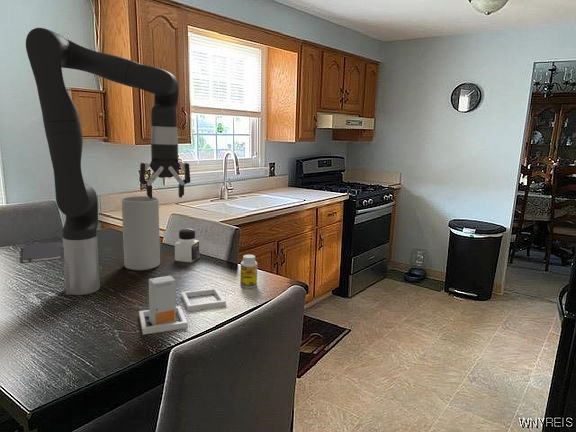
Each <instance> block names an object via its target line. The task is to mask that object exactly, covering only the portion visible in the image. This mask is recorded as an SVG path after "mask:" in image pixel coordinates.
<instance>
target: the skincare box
mask: <svg viewBox="0 0 576 432" xmlns="http://www.w3.org/2000/svg"><path fill="white" fill-rule="evenodd" d="M176 291H177V280H176V279H175V278H174V277H173V276H172V275H167V276H166V275H164V276H159V277H154V278H153V277H152V278H148V310H149V317H148V318H149V322H150V323H151V326H155V325H162V324H169V323H176V322H177V315H176V314H177V313H176V306H177V304H176V303H177V302H176V301H177V297H176V295H177V292H176Z"/></svg>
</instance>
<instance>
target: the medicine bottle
mask: <svg viewBox="0 0 576 432" xmlns="http://www.w3.org/2000/svg"><path fill="white" fill-rule="evenodd" d="M178 239H179V241H177V242H175V243H174V261H176V262H184V263H193V262H194V261H196V260H198V259H199V258H200V240H199V239H196V230H194V229H192V228H181V229H180V230H179V231H178Z"/></svg>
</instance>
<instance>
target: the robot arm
mask: <svg viewBox="0 0 576 432" xmlns="http://www.w3.org/2000/svg"><path fill="white" fill-rule="evenodd" d="M25 49H26V54H27V59H28V61H29V63H30V67H31V70H32V74H33V77H34V81H35V86H36V88H37V89H36V90H37V94H38V100H39V104H40V109H41V113H42V121H43V122H42V123H43V127H44V133H45V136H46V142H47V146H48V151H49V157H50V161H51V164H52V169H53V177H54V189H55V191H54V192H55V201H56V205H57V208H58V209H59V210H60V212H61V213H62V214H63V215H64V216H65V222H64V224H63V225H64V226H63V228H62V242H63V243H62V244H63V245H62V246H63V256H64V257H63V258H64V264H63V267H64V268H63V270H64V272H63V273H64V284H65V295H66V296H69V295H72V296H83V295H84V296H85V295H90V294H93V293H96V292H97V291H99V289H100V284H101V283H100V271H99V268H100V267H99V253H98V232H97V230H98V225H99V206H98V205H99V203H98V196H97V192H96V190H95V188H93V187H92V186H91V185H90V184H88V183H85V181H84V177H83V173H82V155H83V146H84V145H83V142H84V139H83V138H84V137H83V130H82V124H81V118H80V115H79V111H78V110H77V107H76V105H75V103H74V101H73V99H72V98H71V95H70V93H69V91H68V89H67V86H66V84H65V80H64V77H63V75H64V74H63V70H62V69H71V70H77V71H82V72H86V73H90V74H92V75H94V76H98V77H101V78H103V79H105V80H107V81H110V82H113V83H116V84H120V85H123V86H126V87H131V88H135V89H137V88H138V89H140V90H143V91H144V92H147V93H151V94H153V95H154V100H153V101H154V103H153V104H154V105H153V106H152V107H151V111H150V113H151V114H150V115H151V116H150V119H151V123H150V124H151V125H150V126H151V128H150V148H151V149H150V151H151V152H150V153H151V158H150V160H151V161H150V162H149V163H148V162H140V164H139V183H140V185H141V184H142V185H145V186H146V196H148V197H149V198H150V199H152V197H153V186H152V184H153V183H154V182H155V181H156V179H157V178H161V179H163V178H169V179H172V178H174V179H175V180H176V181H177V183H178V185H177V186H178V189H177V190H178V192H177V193H178V198H183V196H184V195H185V185H187V184H190V183H191V172H190V171H191V170H190V169H191V168H190V164H189V163H188V162H184V163H183V162H182V163H180V162H179V135H178V117H177V107H178V100H179V82H178V80H177V77H176V76H175V75H174V74H172V73H171V72H170V71H168V70H165V69H162V68H159V67H155V66H150V65H147V64H142V63H139V62H137V61H134V60H131V59H128V58H125V57H122V56H118V55H115V54H110V53H106V52H101V51H95V50H93V49H90V48H87V47H84V46H82V45H79V44H77V43H75V41H74V42H73V41H72V40H70V39H68V38H66V37H64V36H63V35H61V34H60V33H58V32H56V31H53V30H50V29H48V28H44V27H35V28H33V29H31V30H30V31H29V32H28V34H27V35H26V39H25ZM149 168H150V170H152V171H153V172H152V173H151V175H150V176H149V177H148V178H147V179H146V171H148V170H149ZM180 168H181V170H182V171H184V172H183V174H184V179H182V178H181V176H180V175H179V174H178V171H179V169H180Z"/></svg>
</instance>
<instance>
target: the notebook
mask: <svg viewBox="0 0 576 432" xmlns="http://www.w3.org/2000/svg"><path fill="white" fill-rule="evenodd" d="M62 258H63V256H62V253H61V248H60V243H59V241H55V242H47V243H46V242H45V243H43V242H42V243H36V244H35V243H34V244H33V243H32V244H25V245H24V244H23V246H22V255H21V260H22V263H28V262H29V263H31V262H40V261H50V260H59V259H62Z"/></svg>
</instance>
